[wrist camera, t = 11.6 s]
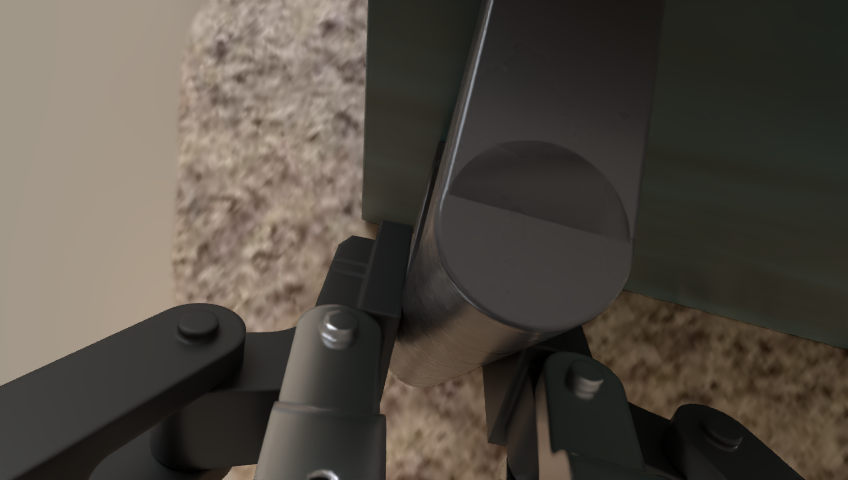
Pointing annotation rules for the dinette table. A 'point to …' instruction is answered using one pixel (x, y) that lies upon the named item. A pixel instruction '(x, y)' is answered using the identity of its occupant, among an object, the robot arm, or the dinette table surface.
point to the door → (606, 166)
